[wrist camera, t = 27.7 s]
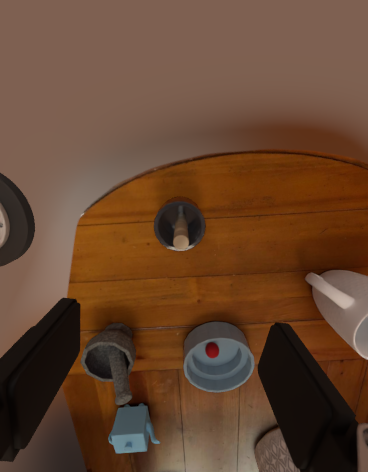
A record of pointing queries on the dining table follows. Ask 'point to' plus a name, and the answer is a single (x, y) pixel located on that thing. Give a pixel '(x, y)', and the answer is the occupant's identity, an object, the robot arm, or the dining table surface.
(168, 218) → the holder
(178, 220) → the stick
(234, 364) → the mixing bowl
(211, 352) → the berry
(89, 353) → the mortar and pestle
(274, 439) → the planter
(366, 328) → the mug
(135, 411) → the teapot
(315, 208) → the dining table surface
